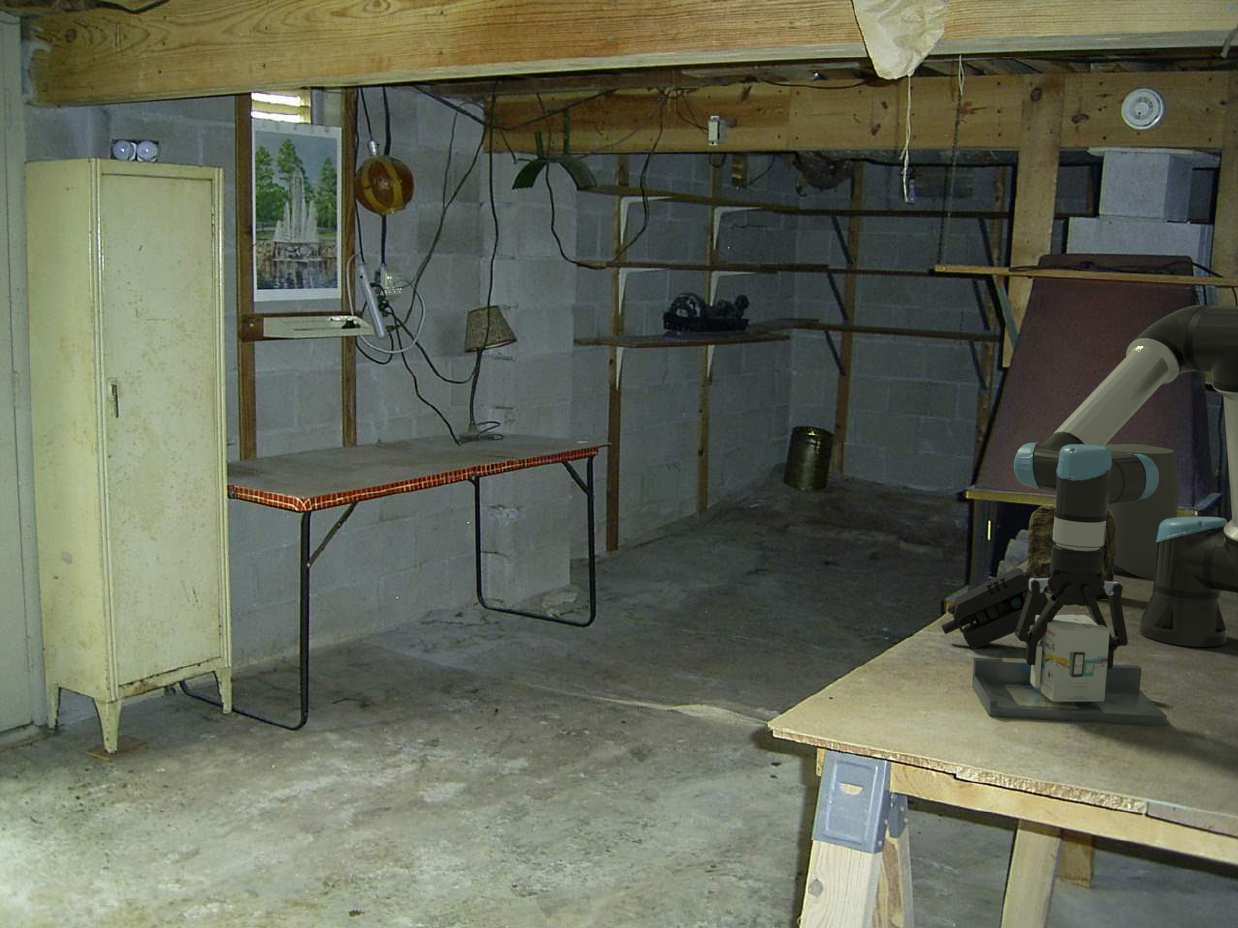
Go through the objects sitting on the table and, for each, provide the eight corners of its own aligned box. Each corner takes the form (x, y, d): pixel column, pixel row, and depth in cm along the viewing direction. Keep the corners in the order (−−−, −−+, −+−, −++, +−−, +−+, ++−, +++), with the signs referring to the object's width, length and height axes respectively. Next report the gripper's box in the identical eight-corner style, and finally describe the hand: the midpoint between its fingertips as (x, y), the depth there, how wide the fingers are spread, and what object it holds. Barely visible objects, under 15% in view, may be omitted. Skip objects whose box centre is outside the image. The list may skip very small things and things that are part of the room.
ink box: (1029, 684, 194) (1034, 613, 192) (1080, 683, 195) (1085, 613, 193) (1052, 702, 186) (1058, 628, 184) (1105, 701, 186) (1112, 628, 185)
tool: (1070, 640, 217) (1032, 567, 217) (970, 684, 222) (932, 612, 221) (1065, 631, 223) (1027, 559, 223) (968, 674, 228) (931, 603, 227)
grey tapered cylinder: (1139, 558, 302) (1149, 439, 298) (1189, 577, 283) (1201, 450, 278) (1065, 560, 299) (1074, 439, 295) (1111, 579, 279) (1122, 450, 275)
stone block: (1112, 593, 266) (1119, 503, 263) (1112, 602, 258) (1119, 510, 255) (1024, 584, 273) (1031, 496, 270) (1021, 592, 264) (1028, 502, 262)
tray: (1135, 695, 197) (1138, 664, 196) (1166, 725, 183) (1169, 692, 182) (972, 687, 199) (974, 656, 198) (989, 716, 185) (991, 683, 185)
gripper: (1143, 543, 190) (1131, 682, 193) (999, 537, 191) (990, 675, 195) (1159, 553, 182) (1147, 697, 185) (1010, 547, 184) (1000, 690, 187)
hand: (1067, 686), depth 190 cm, fingers closed on ink box, 9 cm apart
